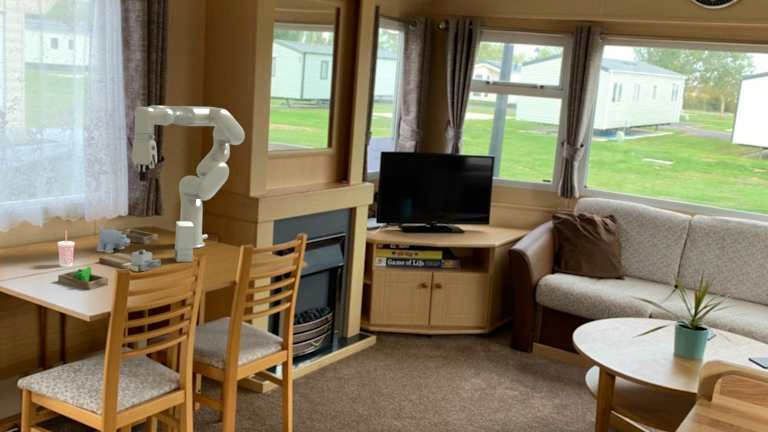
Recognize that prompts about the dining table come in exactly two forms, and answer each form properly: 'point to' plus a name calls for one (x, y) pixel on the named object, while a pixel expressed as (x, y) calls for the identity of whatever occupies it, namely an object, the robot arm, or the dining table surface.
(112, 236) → the hippopotamus toy
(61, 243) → the beverage cup
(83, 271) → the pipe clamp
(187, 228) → the skincare box
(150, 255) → the clip block
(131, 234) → the clip frame
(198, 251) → the dining table surface
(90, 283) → the brown wooden tray
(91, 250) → the dining table surface
